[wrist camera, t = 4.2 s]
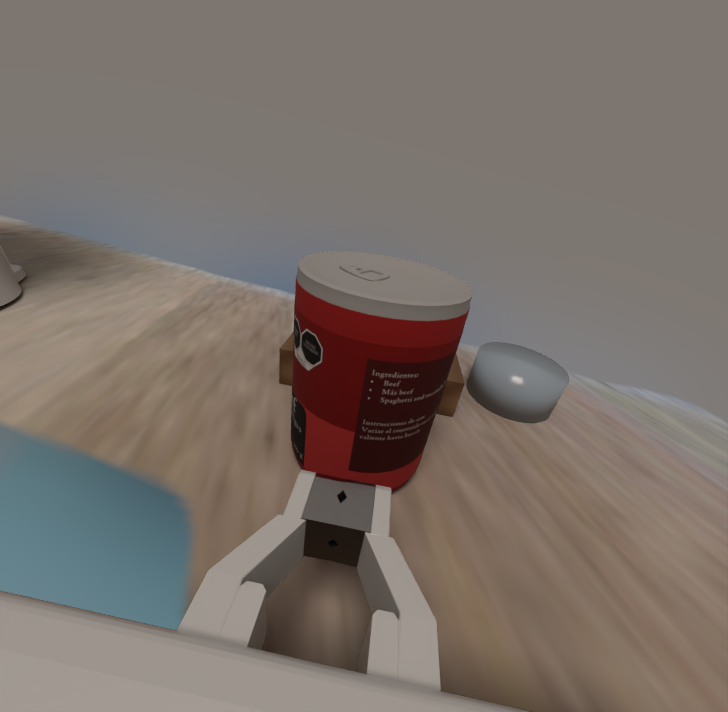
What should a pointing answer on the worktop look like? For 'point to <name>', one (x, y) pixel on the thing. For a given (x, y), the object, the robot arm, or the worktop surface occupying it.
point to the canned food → (370, 362)
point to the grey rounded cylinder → (516, 382)
